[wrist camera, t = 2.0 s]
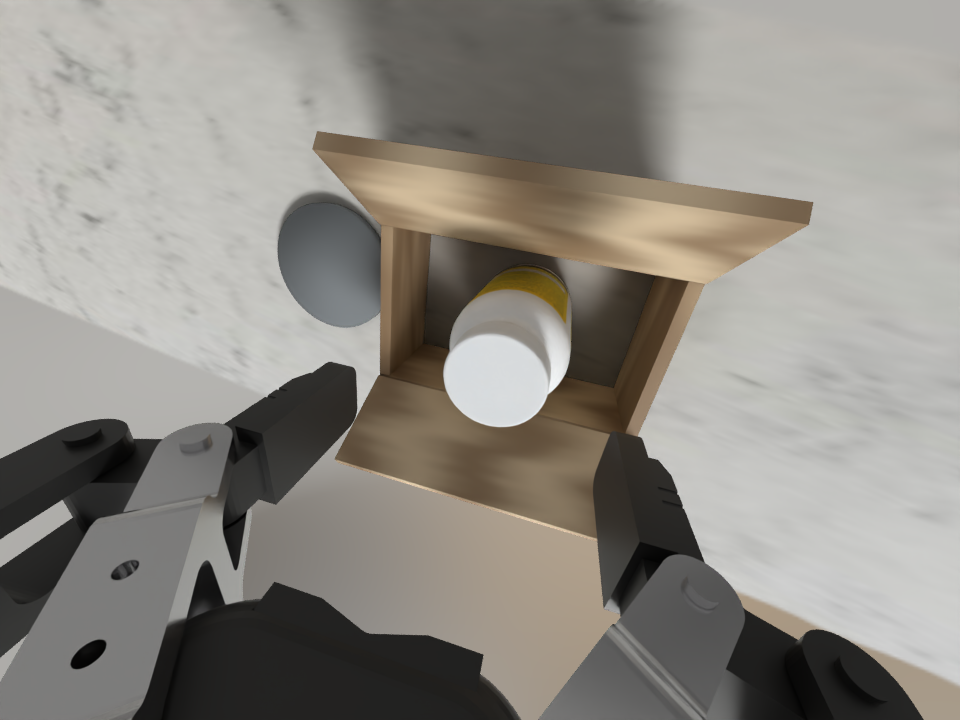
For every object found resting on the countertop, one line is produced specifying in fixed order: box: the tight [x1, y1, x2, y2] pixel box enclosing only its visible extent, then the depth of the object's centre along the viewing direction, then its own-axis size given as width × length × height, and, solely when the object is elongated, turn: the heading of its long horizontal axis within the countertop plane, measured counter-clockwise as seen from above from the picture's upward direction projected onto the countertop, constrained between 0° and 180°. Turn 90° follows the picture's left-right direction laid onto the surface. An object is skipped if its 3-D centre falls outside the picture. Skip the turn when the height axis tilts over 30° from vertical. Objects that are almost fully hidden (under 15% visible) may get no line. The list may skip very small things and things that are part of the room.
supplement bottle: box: [443, 264, 572, 427], centre depth 17 cm, size 5×5×10 cm
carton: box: [312, 131, 813, 541], centre depth 17 cm, size 14×14×10 cm
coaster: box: [278, 203, 381, 328], centre depth 23 cm, size 8×8×1 cm
